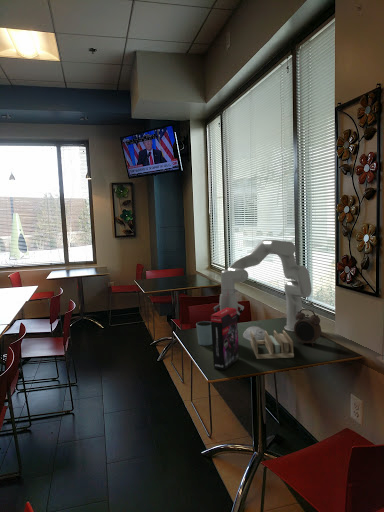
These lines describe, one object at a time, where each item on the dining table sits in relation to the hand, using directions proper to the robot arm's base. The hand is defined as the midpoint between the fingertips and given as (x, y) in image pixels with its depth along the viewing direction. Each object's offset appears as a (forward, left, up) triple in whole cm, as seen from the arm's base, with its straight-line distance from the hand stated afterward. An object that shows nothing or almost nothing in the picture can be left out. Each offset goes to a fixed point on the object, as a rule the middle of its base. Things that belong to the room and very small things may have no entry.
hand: (229, 321), depth 208 cm
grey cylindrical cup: (+14, -8, -15) cm, 22 cm away
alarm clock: (-44, 0, -15) cm, 46 cm away
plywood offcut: (-28, +8, -15) cm, 33 cm away
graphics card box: (+4, +24, -15) cm, 29 cm away
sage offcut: (-23, +8, -15) cm, 29 cm away
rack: (-22, +8, -15) cm, 28 cm away
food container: (-18, -16, -16) cm, 28 cm away
